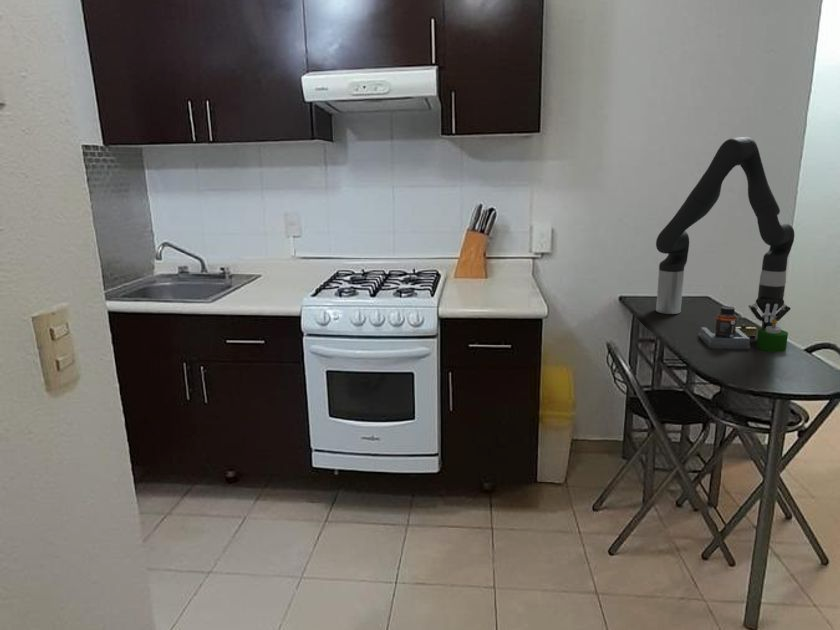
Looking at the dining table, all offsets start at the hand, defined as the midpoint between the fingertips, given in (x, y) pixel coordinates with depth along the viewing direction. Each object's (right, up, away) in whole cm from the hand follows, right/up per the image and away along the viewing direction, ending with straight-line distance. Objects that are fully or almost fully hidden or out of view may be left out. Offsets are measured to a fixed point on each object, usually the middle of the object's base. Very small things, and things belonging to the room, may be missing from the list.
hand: (766, 332), depth 202 cm
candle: (-5, -5, -11) cm, 14 cm away
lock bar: (-7, -1, +2) cm, 8 cm away
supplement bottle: (-17, -3, -5) cm, 18 cm away
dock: (-17, -3, -4) cm, 18 cm away
